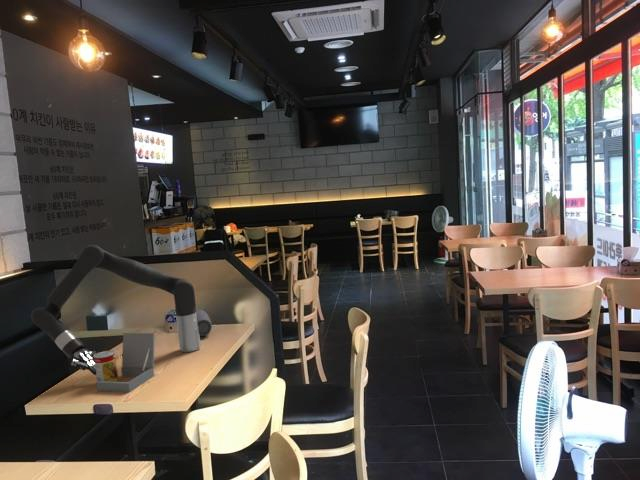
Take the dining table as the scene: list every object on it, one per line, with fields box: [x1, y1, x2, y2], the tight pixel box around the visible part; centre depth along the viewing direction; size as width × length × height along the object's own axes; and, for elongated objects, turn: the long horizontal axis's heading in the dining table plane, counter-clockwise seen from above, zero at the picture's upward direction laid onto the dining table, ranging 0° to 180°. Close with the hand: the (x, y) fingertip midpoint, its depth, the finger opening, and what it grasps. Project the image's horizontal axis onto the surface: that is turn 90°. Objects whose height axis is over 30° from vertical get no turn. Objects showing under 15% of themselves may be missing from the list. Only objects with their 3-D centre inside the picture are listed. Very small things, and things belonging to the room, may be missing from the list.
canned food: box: [94, 350, 119, 382], centre depth 214 cm, size 8×8×12 cm
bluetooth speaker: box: [196, 309, 213, 336], centre depth 274 cm, size 23×9×10 cm, turn 17°
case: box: [95, 332, 156, 393], centre depth 213 cm, size 15×20×17 cm
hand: (97, 373), depth 216 cm, fingers closed
